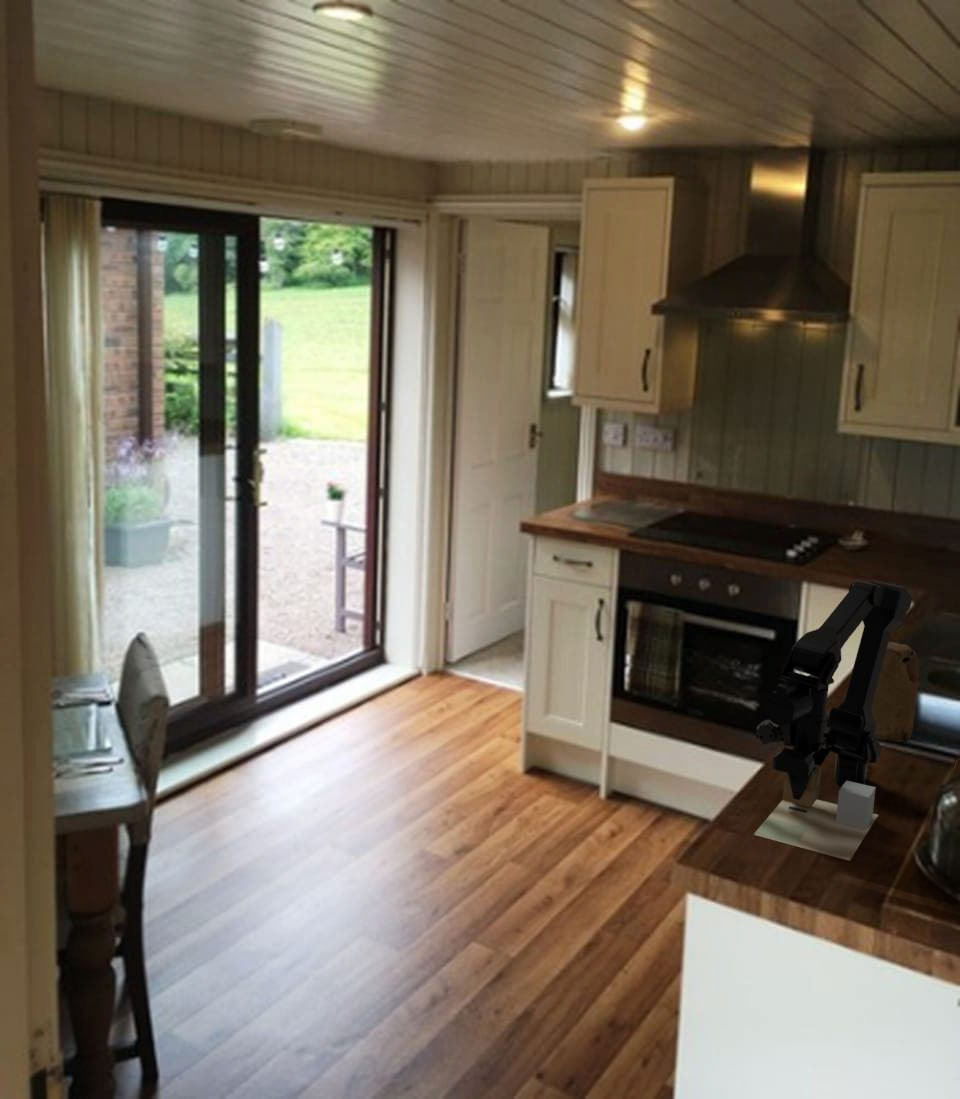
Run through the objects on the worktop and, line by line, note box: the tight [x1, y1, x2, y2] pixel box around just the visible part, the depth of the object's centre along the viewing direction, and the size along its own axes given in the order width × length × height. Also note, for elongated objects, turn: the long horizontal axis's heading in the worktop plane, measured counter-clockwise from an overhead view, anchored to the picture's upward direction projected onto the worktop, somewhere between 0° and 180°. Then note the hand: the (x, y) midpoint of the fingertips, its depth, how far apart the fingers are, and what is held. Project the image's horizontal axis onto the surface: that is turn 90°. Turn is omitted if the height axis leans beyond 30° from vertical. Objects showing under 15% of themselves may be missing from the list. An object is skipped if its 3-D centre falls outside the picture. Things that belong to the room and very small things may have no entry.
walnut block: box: [782, 764, 823, 807], centre depth 202 cm, size 5×5×6 cm
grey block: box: [836, 780, 877, 830], centre depth 197 cm, size 5×5×6 cm
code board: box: [753, 799, 879, 861], centre depth 196 cm, size 20×16×1 cm
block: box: [871, 641, 920, 743], centre depth 238 cm, size 11×8×20 cm
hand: (801, 793), depth 202 cm, fingers closed on walnut block, 5 cm apart
